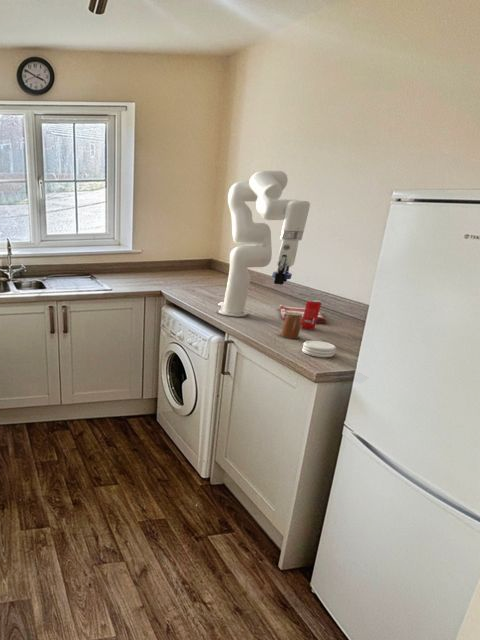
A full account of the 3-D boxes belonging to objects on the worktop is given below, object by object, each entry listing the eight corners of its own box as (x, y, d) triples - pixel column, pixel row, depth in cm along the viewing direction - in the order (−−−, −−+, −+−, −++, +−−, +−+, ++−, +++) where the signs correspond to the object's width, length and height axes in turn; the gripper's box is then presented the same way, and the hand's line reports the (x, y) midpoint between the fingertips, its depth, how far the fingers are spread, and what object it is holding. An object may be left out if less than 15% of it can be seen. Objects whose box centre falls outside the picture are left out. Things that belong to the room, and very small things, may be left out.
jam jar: (277, 335, 186) (283, 312, 183) (288, 333, 188) (293, 311, 185) (290, 339, 181) (296, 316, 178) (301, 337, 183) (307, 314, 180)
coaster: (296, 352, 166) (299, 343, 165) (308, 347, 172) (310, 338, 171) (326, 360, 159) (329, 350, 158) (338, 354, 165) (340, 345, 163)
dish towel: (283, 320, 208) (284, 314, 207) (278, 308, 228) (279, 303, 227) (325, 323, 202) (327, 318, 201) (316, 312, 222) (318, 306, 221)
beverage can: (297, 327, 197) (304, 300, 192) (305, 325, 199) (312, 298, 194) (309, 330, 193) (316, 302, 188) (317, 328, 195) (324, 301, 190)
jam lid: (294, 278, 177) (295, 274, 177) (282, 279, 175) (283, 275, 174) (279, 275, 183) (281, 271, 182) (268, 276, 180) (269, 271, 180)
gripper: (299, 238, 164) (287, 287, 171) (305, 234, 177) (294, 280, 184) (276, 236, 168) (265, 285, 176) (284, 233, 181) (273, 278, 188)
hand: (280, 282), depth 180 cm, fingers closed on jam lid, 6 cm apart
